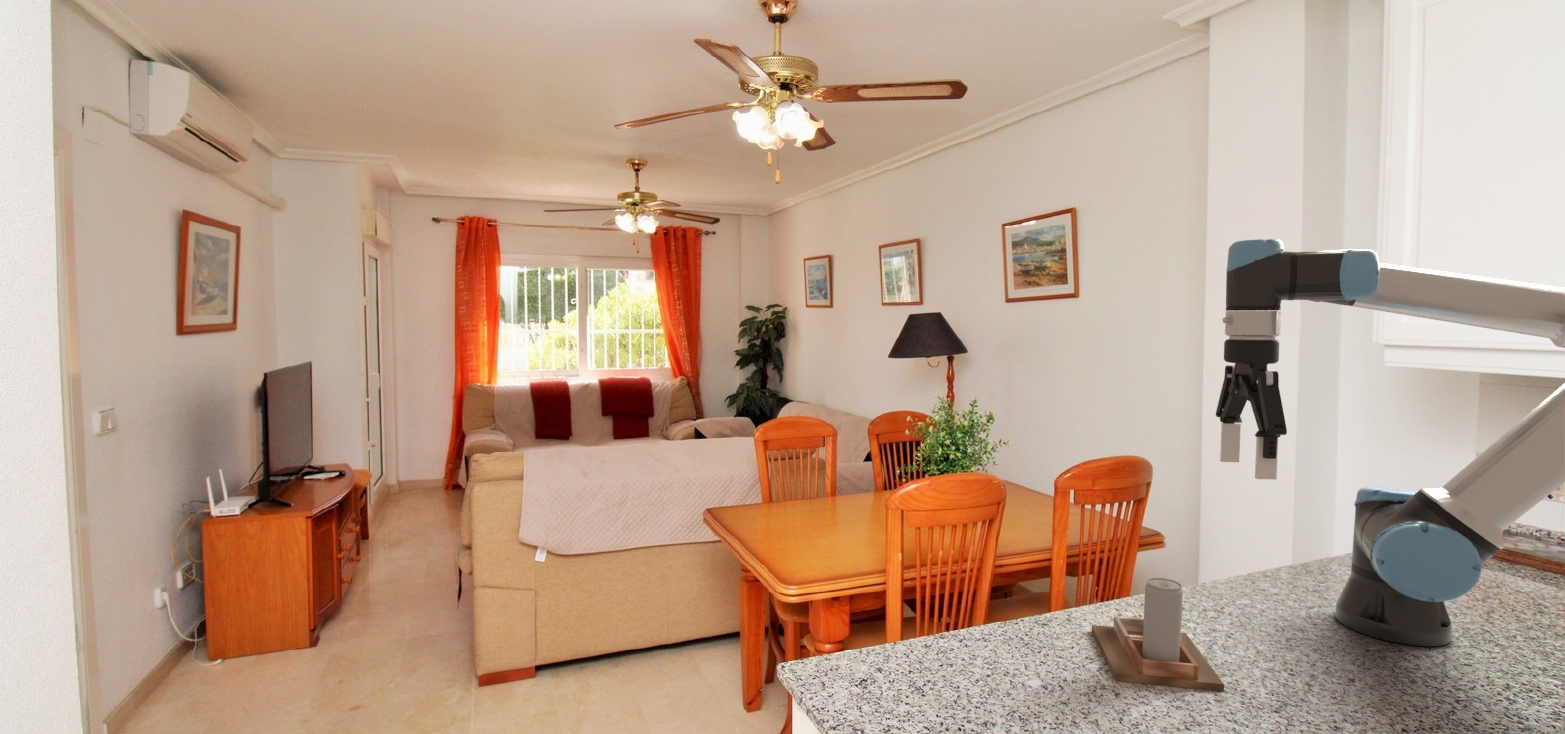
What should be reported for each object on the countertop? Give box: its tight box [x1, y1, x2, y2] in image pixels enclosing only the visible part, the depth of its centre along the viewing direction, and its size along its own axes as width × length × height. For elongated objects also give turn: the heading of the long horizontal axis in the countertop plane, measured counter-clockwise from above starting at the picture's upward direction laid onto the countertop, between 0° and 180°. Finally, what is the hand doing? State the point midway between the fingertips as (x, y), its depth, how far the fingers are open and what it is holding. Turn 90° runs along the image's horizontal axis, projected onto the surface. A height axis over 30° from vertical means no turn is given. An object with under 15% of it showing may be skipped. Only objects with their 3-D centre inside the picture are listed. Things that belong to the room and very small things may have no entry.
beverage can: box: [1142, 577, 1184, 662], centre depth 112 cm, size 5×5×12 cm
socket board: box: [1091, 615, 1225, 692], centre depth 116 cm, size 14×17×3 cm
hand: (1246, 470), depth 125 cm, fingers open, 13 cm apart
